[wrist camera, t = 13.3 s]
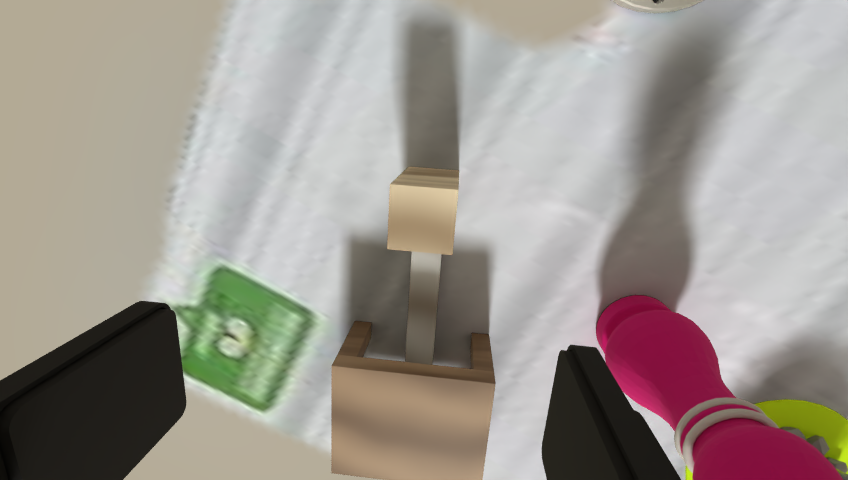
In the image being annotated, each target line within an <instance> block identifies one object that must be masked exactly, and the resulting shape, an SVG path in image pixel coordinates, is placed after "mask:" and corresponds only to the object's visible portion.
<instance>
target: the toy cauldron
mask: <svg viewBox="0 0 848 480" xmlns="http://www.w3.org/2000/svg"><path fill="white" fill-rule="evenodd" d="M754 405H756V406H757V407H759V408H760V409H761V410H762V411H763V412H764V413H765V415H766V416H767V417H768V418H770V419H771V420H772V421H773V422H774V423H775V424H776V425H777V426H778V427H779V429H783V430H785V431H788V432H790V433H792V434H795V435H797V436H799V437H801V438H802V439H804V440H806V441H807V442H808V443H810V444H811V445H813V446H814V447H815V448H817V449H818V450H819V451H820V452H821V453H822V454H823V455H824V456H825V457H826V458H827V459H828V461H829V462H830V463H831V464H832V465H833V466H834V467H835V468H836V470H837V471H838V473H839V474H840V476H841V477H842V479H843V480H848V420H847V419H845V418H844V417H842V416H841V415H840V414H838V413H837V412H836V411H834V410H831V409H829V408H827V407H825V406H822V405H820V404H816V403H812V402H807V401H802V400H788V399H784V400H772V401H765V402H761V403H756V404H754ZM692 476H693V473H692V472H691V471H690V470H689V469H688V467H687V465H686V480H693V478H692Z"/></svg>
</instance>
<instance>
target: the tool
mask: <svg viewBox="0 0 848 480" xmlns="http://www.w3.org/2000/svg"><path fill="white" fill-rule="evenodd" d="M458 187H459V170H446V169H433V168H421V167H408V168H407V169H406V170H405V171H403V172H402V173H401V174H400V175H399V176H398V177H397V178H396V179H395V180H394V181H393V182H392V183H391V184H390V196H389V219H388V242H387V249H391V250H402V251H412V255H411V271H410V287H409V304H408V320H407V336H406V352H405V362H410V363H419V364H429V365H432V363H433V353H434V341H435V329H436V317H437V305H438V293H439V281H440V270H441V258H442V254H446V255H452V254H453V243H454V232H455V221H456V211H457V200H458Z"/></svg>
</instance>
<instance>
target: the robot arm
mask: <svg viewBox="0 0 848 480" xmlns="http://www.w3.org/2000/svg"><path fill="white" fill-rule="evenodd" d="M611 1H613V2H614V3H616V4H618V5H619V6H621V7H624V8H627V9H630V10H633V11H636V12H645V13H654V14H655V13H665V12H674V11H677V10H681V9H684V8H687V7H691V6H693V5H695V4H697V3H700V2H702V1H704V0H656V3H654V2H653V1H652V0H611ZM185 408H186V395H185V386H184V378H183V370H182V362H181V353H180V345H179V337H178V329H177V320H176V315H175V312H174V311H173V310H171V309H170V307H169V306H168V305H167V304H166V303H158V302H148V301H139V302H137V303H135V304H133V305H131V306H130V307H128V308H126V309H124V310H123V311H121V312H119V313H118V314H116V315H114V316H112V317H110V318H109V319H107V320H105V321H103V322H102V323H100V324H98V325H96V326H95V327H93V328H92V329H89V330H88V331H86V332H84V333H82V334H81V335H79V336H77V337H76V338H74V339H72V340H70V341H69V342H67V343H65V344H63V345H62V346H60V347H58V348H56V349H55V350H53V351H51V352H49V353H48V354H46V355H44V356H42V357H41V358H39V359H37V360H35V361H34V362H32V363H30V364H28V365H27V366H25V367H23V368H21V369H20V370H18V371H16V372H14V373H13V374H11V375H9V376H7V377H6V378H4V379H2V380H0V480H123V479H124V478H125V477H126V476H127V475H128V474H129V473H130V472H131V470H132V469H133V468H134V467H135V466H136V465H137V464H138V463H139V462H140V461H141V460H142V459H143V458H144V456H145V455H146V454H147V453H148V452H149V451H150V450H151V449H152V448H153V447H154V446H155V445H156V444H157V442H158V441H159V440H160V439H161V438H162V437H163V436H164V435H165V434H166V433H167V432H168V431H169V430H170V429H171V427H172V426H173V425H174V424H175V423H176V422H177V421H178V420H179V419H180V418H181V416H182V415H183V413H184V410H185ZM542 460H543V465H544V469H545V473H546V477H547V480H681V479H680V477H679V475H678V474H677V472H676V470H675V469H674V467H673V466H672V464H671V462H670V461H669V459H668V457H667V456H666V454H665V452H664V451H663V449H662V447H661V446H660V444H659V443H658V441H657V439H656V438H655V436H654V434H653V433H652V431H651V429H650V428H649V426H648V424H647V423H646V421H645V420H644V418H643V417H642V415H641V414H640V413H639V412H637V411H635V410H633V408H632V407H631V405H630V403H629V402H628V400H627V398H626V397H625V395H624V393H623V391H622V390H621V388H620V386H619V385H618V383H617V381H616V380H615V378H614V376H613V375H612V373H611V371H610V369H609V368H608V366H607V364H606V363H605V361H604V359H603V358H602V356H601V354H600V353H599V351H598V349H597V348H595V347H587V346H577V345H570V346H569V347H568V349H567V351H564V350H561V351H560V353H559V356H558V361H557V367H556V372H555V377H554V383H553V388H552V394H551V399H550V404H549V410H548V415H547V420H546V426H545V431H544V437H543V442H542Z"/></svg>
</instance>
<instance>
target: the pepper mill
mask: <svg viewBox="0 0 848 480" xmlns="http://www.w3.org/2000/svg"><path fill="white" fill-rule="evenodd" d="M596 336H597V340H598V343H599V345H600V346H601V348H602V350H603V351H604V353H605V360H606V364H607V366H608V368H609V369H610V371H611V373H612V375H613V376H614V378H615V380H616V381H617V383H618V385H619V386H620V388H621V390H622V391H623V392H624V393H625V394H626V395H628V396H629V397H630V398H631V399H633V400H634V401H635V402H636V403H638V404H640V405H641V406H643V407H645V408H647V409H648V410H650V411H652V412H654V413H656V414H657V415H659V416H660V417H662V418H663V419H664V420H665V421H666V422H668V423H669V424H670V426H671V427H672V428H673V430H674V431H675V435H674V440H675V446H676V449H677V452H678V453H679V455H680V456H681V458H682V459H683V460H684V461H685V463H686V465H687V467H688V469H689V470H690V471H691V472H692V473H693V476H692V478H693V480H843V479H842V477H841V476H840V474H839V473H838V471H837V470H836V468H835V467H834V466H833V465H832V464H831V463H830V462H829V461H828V459H827V458H826V457H825V456H824V455H823V454H822V453H821V452H820V451H819V450H818V449H817V448H815V447H814V446H813V445H811V444H810V443H808V442H807V441H806V440H804V439H802V438H801V437H799V436H797V435H795V434H792V433H790V432H788V431H785V430H783V429H779V427H778V426H777V425H776V424H775V423H774V422H773V421H772V420H771V419H770V418H768V417H767V416H766V415H765V413H764V412H763V411H762V410H761V409H760V408H759V407H757V406H756V405H754V404H752V403H750V402H748V401H745V400H743V399H738V398H736V397H735V396H734V395H733V394H732V393H731V392H730V390H729V389H728V388H727V387H726V386H725V384H724V383H723V381H722V379H721V375H720V370H719V364H718V358H717V356H716V353H715V350H714V348H713V346H712V344H711V342H710V340H709V339H708V337H707V336H706V335H705V333H704V332H703V331H702V330H701V329H700V328H699V327H698V326H697V325H696V324H695V323H694V322H693V321H691V320H690V319H688V318H687V317H685V316H683V315H681V314H679V313H675V312H672V311H671V310H670V309H669V308H667V307H666V306H665V305H664V304H663V303H662V302H660V301H659V300H657V299H655V298H652V297H648V296H643V295H633V296H628V297H624V298H621V299H619V300H617V301H615V302H613V303H612V304H611V305H609V306H608V307H607V308H606V309H605V310H604V311H603V313H602V314H601V316H600V318H599V320H598V323H597V327H596Z"/></svg>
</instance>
